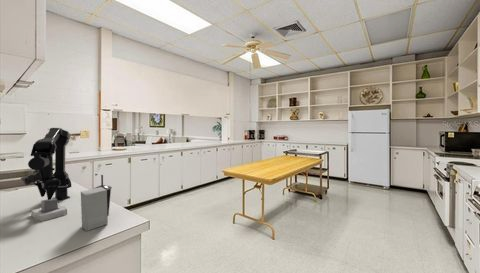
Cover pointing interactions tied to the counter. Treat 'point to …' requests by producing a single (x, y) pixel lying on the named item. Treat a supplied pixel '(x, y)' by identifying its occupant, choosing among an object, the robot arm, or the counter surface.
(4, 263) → the counter surface
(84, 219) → the skincare box
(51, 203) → the plug
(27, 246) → the counter surface
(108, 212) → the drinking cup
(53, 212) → the socket
